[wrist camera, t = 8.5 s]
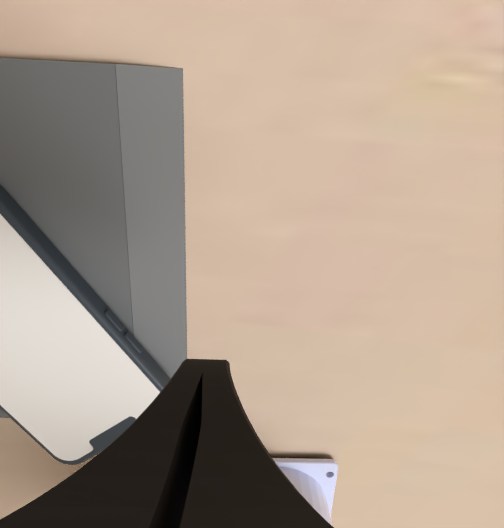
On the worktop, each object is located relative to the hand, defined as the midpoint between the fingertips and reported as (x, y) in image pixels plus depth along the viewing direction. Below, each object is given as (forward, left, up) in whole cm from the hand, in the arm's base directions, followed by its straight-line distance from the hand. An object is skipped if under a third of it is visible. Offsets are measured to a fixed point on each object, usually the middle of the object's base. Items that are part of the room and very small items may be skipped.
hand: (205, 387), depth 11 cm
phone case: (-4, +10, -10) cm, 15 cm away
